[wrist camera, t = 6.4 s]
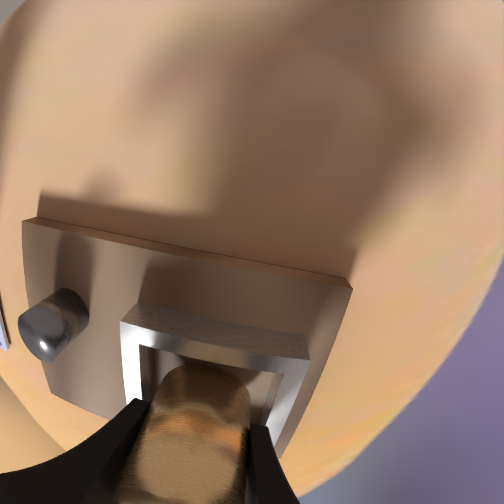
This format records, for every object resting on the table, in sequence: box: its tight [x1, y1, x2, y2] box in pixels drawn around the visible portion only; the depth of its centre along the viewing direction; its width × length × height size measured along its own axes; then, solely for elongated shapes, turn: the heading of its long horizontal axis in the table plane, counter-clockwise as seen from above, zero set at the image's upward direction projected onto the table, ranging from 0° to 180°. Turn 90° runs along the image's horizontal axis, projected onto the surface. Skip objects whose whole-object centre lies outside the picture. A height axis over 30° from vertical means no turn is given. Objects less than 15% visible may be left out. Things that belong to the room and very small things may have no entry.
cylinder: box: [113, 364, 251, 504], centre depth 8 cm, size 4×4×6 cm
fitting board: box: [18, 217, 353, 458], centre depth 11 cm, size 16×12×4 cm
